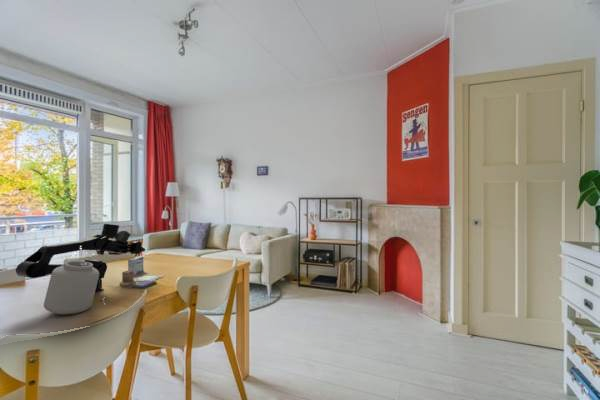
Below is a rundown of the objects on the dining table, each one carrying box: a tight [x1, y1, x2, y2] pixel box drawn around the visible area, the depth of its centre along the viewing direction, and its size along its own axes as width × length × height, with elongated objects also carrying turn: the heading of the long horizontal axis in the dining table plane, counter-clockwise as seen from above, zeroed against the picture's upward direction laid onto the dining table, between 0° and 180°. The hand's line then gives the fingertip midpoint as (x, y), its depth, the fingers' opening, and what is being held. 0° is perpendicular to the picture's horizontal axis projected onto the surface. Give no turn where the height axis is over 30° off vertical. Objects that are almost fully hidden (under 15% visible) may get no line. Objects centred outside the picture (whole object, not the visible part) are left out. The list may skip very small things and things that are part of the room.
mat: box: [134, 274, 165, 283], centre depth 154 cm, size 11×11×1 cm
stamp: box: [119, 270, 137, 288], centre depth 144 cm, size 5×5×7 cm
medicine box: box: [127, 256, 144, 276], centre depth 165 cm, size 8×4×9 cm, turn 179°
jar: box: [43, 246, 106, 315], centre depth 111 cm, size 19×15×25 cm
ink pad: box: [130, 280, 158, 290], centre depth 142 cm, size 9×7×1 cm
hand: (138, 250), depth 156 cm, fingers open, 9 cm apart
